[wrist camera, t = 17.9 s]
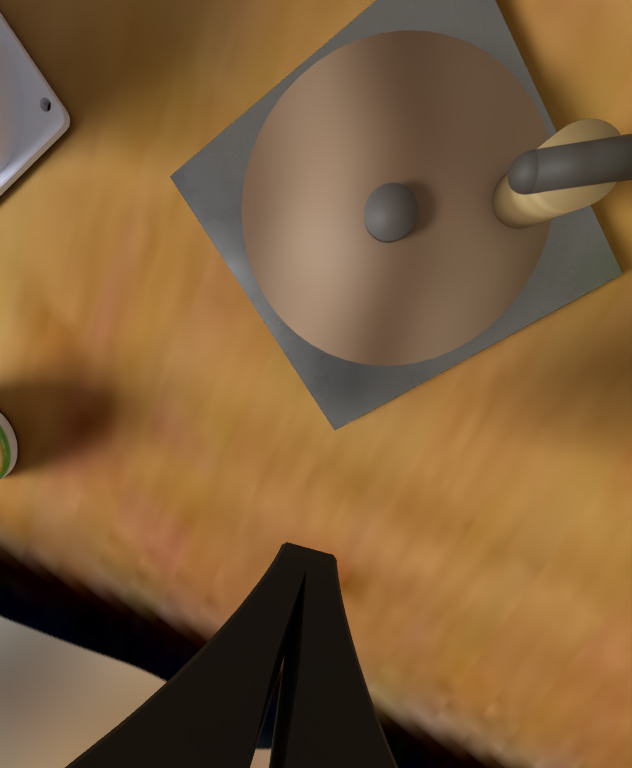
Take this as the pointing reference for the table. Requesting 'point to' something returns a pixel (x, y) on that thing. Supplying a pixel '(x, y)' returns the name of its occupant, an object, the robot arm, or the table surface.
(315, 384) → the crank base
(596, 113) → the table surface
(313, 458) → the table surface
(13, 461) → the supplement bottle
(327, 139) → the crank
